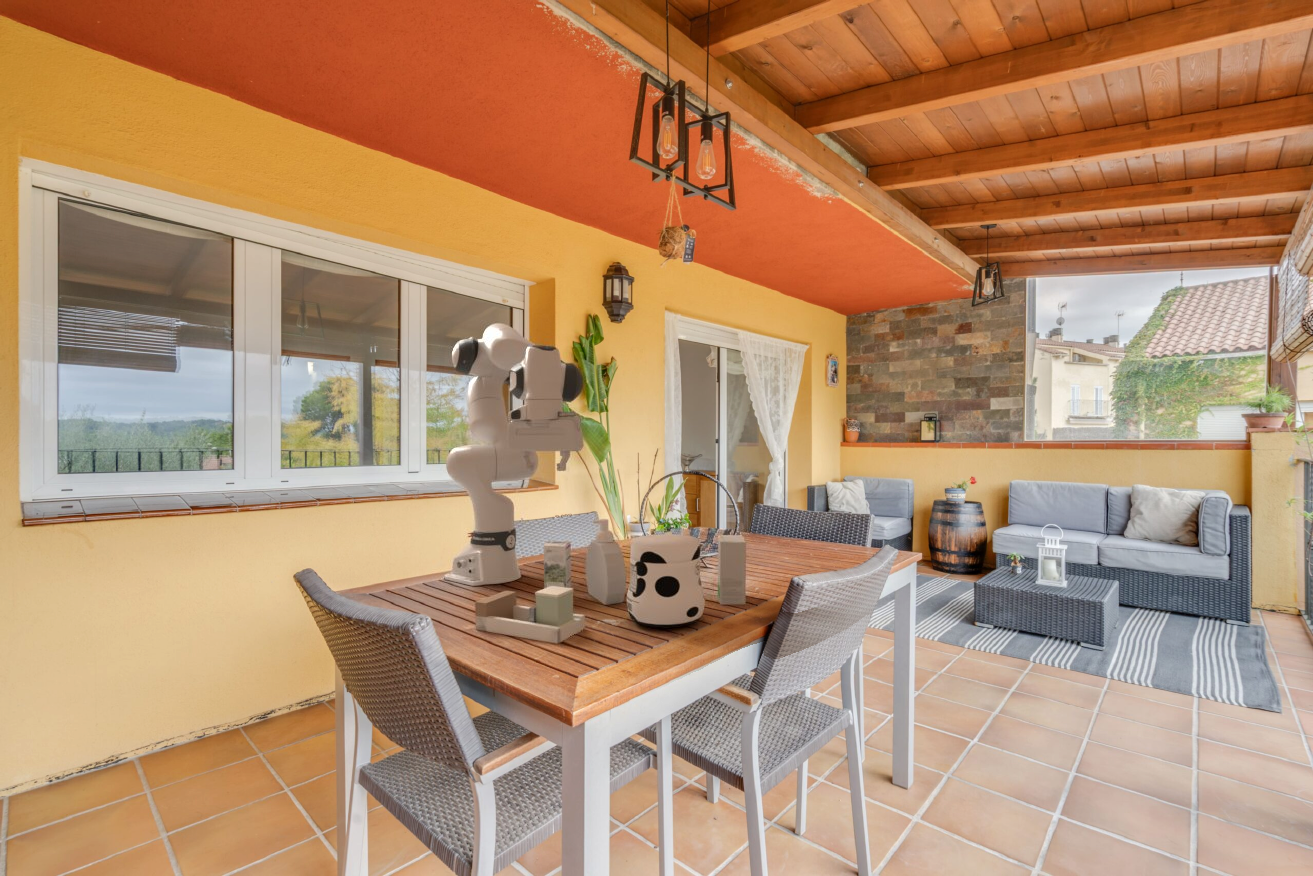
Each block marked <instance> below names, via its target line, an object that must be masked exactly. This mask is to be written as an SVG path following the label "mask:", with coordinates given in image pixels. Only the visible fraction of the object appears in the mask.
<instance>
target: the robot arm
mask: <svg viewBox="0 0 1313 876" xmlns="http://www.w3.org/2000/svg"><path fill="white" fill-rule="evenodd" d="M560 354H561V353H560V350H559V349H558V348H557V347H555V346H552V345H546V344H545V345H543V344H540V345H539V344H535V343H534V342H532V341H531V340H529V339H527V338H525V337H524V336H522V335H521V334H520V332H518V331H517V330H516V329H514V328H513V327H511V326H510V325H508V324H506V323H502V322H498V323H492V324H490V325H489V326H488V327H486V328H485V330H484V332H483V334H482V338H480V339H479V338H475V337H474V336H470V337H469V338H465V339H460V340H459V341H457V342H456V343H455V345H454V347H453V349H452V353H451V360H452V361H451V362H452V365H453V368H454V370H455V372H457V373H459V374H463V375H471V376H475V377H473V378H472V379H471V380H470V381H469V383H468V387H467V395H466V398H467V399H466V402H467V403H466V404H467V405H466V407H467V415H468V416H467V417H468V424H469V425H468V426H469V427H468V428H469V430H470V432H471V435H472V436H473V437H475V439H476V440H479V441H482V442H484V444H481V443H478V444H477V443H475V444H474V443H473V444H465V445H459V446H456V447H454V448H453V449H451V450H450V451H449V453H448V455H447V456H446V462H445V466H446V467H445V468H446V471H447V473H448V475H449V477H450V478H451V479H452V481H454V482H456V483H458V485H460V486H461V487H462V488H463V489H464V490H465V491H466V493H467V494H468V496H469V498H470V501H471V503H472V507H473V517H474V518H473V519H474V530H473V532H469V533H467V535H468V536H467V538H470V541H469V542H470V543H469V544H468V545H467V546H465V547H464V548H463V549H462V550H461V551H460V552H459V553H457V554H456V555H455V556H454V558H453V561H452V569H451V571H450V573H449V572H447V573H445V574H444V575H443V579H444V578H445V579H444V580H446V581H451V582H455V583H459V584H463V585H467V586H473V587H474V586H475V587H476V586H483V585H495V584H505V583H508V582H513V581H516V580H518V579H520V578H521V577H522V573H521V571H520V568H519V563H518V557H517V550H516V543H517V530H516V528H515V506H514V502H513V501H512V499H511V498H509V497H508V496H507V495H504V494H502V493H501V492H497V491H496V490H494V489H493V485H492V484H493V483H495V482H499V483H500V482H514V481H516V482H517V481H521V480H525V479H529V478H532V477H533V476H534V475H535V474H536V472H537V470H538V468H539V457H538V453H537V452H559V453H560V454H559V456H560V457H561V458H560V461H559V462H558V463H556V471H557V472H561V471H562V472H565V471H567V463H568V461H569V459H570V457H571V452H580V451H582V450H583V448H584V443H585V442H584V435H583V429H582V417H581V415H580V414H578V413H577V411H576V412H575V411H563V410H564V407H563V405H564V404H563V403H564V402H565V403H573V401H574V400H576V399H577V398H578V397H579V396H580V395H581V393H582V392H583V388H584V378H583V376H584V375H583V373H582V371H581V370H580V369H579V367H577V365H576V364H574V363H573V362H564V360H562V358H561V355H560ZM504 383H505V385H507V386H508V389H509V392H510V393H511V394H512V395H513V397H515V398H516V399H518V400H521V401H524V404H523V405H521V406H519V407H517V408H515V409H512V410H510V411H509V412H508V414H507V412H506V411H507V410H506V404H505V398H504V394H503V386H504ZM509 421H510V422H509ZM456 570H457V571H456Z"/></svg>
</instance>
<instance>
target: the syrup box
mask: <svg viewBox="0 0 1313 876" xmlns="http://www.w3.org/2000/svg"><path fill="white" fill-rule="evenodd" d="M571 552H572V545H571V541H563V540H561V541H559V540H558V541H556V540H555V541H550V540H549V541H547V542H546V543H544V545H543V579H544V580H543V582H544V584H543V585H544V587H543V589H545V588H547V587H550V586H557V587H565V588H572V553H571Z"/></svg>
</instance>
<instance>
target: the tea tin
mask: <svg viewBox="0 0 1313 876" xmlns="http://www.w3.org/2000/svg"><path fill="white" fill-rule="evenodd" d="M573 593H574V588H573V587H571V588H565V587H557V586H550V587H547V588H545V589H544V588H543V589H542V588H541V589H540V590H537V591H534V595H535V605H536V623H539V624H545V625H551V626H557V627H559V626H561V625H563V624H565V623H567V622H569V621H571V620H573V613H574V594H573Z"/></svg>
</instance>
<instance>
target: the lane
mask: <svg viewBox="0 0 1313 876" xmlns="http://www.w3.org/2000/svg"><path fill="white" fill-rule="evenodd" d="M474 605H475V606H474V607H475V608H474V611H475V613H474V614H475V630H477V631H483V632H489V633H494V634H501V635H506V636H512V637H516V638H522V639H529V640H535V641H540V642H545V643H550V644H551V643H552V644H556V645H558V644H560V643H562V642H563V640H564V641H565V640H567V639H569V638H571V637H573V636H574V634H575V635H577V634H579V633H580V632H582V631H584V630H585V628H586V626H585V625H586V618H585V616H586V615H585V614H580V613H574V612H573V620H571V621H569V622H567V623H565V624H563V625H561V626H559V627H557V626H551V625H545V624H539V623H532V622H526V621H523V620H526V619H528V618H529V608H530V607H531V606H525V605H518V604H517V591H511V590H504V591H502V592H499V593H496V594H493V595H489V596H487V597H485V598H482V599H479V600H477V601H474ZM583 629H584V630H583ZM581 630H582V631H581ZM572 635H573V636H572ZM570 636H571V637H570Z"/></svg>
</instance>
